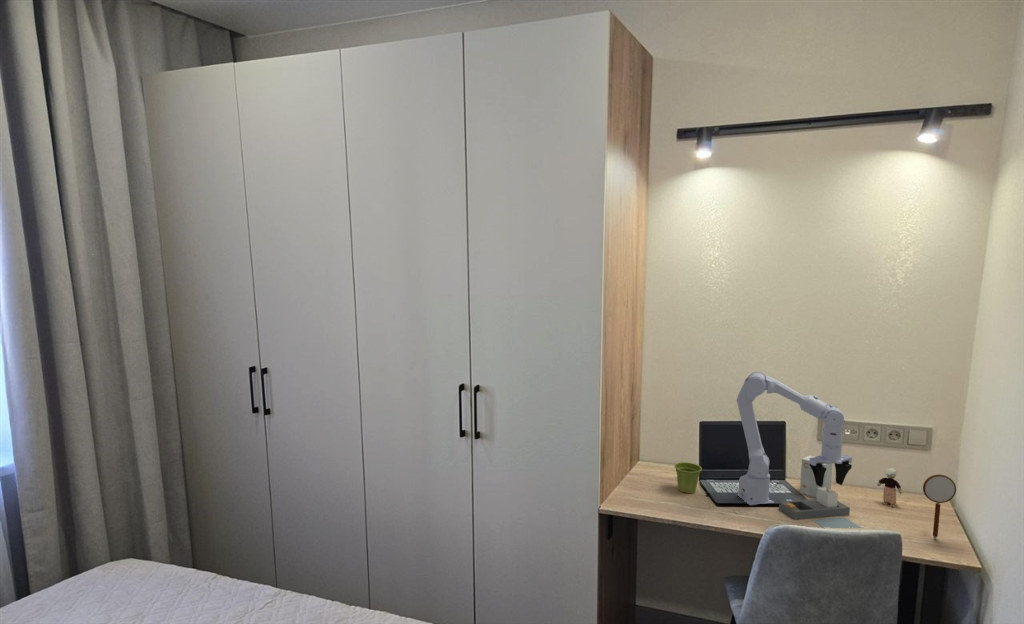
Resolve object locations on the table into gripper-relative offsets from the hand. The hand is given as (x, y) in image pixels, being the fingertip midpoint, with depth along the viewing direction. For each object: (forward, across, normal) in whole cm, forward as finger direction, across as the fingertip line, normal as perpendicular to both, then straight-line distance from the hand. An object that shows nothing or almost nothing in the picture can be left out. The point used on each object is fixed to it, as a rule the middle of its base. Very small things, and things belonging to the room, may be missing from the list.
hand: (829, 484), depth 194 cm
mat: (+10, -4, -10) cm, 14 cm away
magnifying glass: (+10, +19, -22) cm, 31 cm away
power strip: (+10, -5, 0) cm, 11 cm away
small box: (+10, +6, +13) cm, 17 cm away
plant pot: (+10, -37, +25) cm, 46 cm away
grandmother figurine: (+10, +26, +2) cm, 28 cm away
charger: (+9, 0, 0) cm, 9 cm away
